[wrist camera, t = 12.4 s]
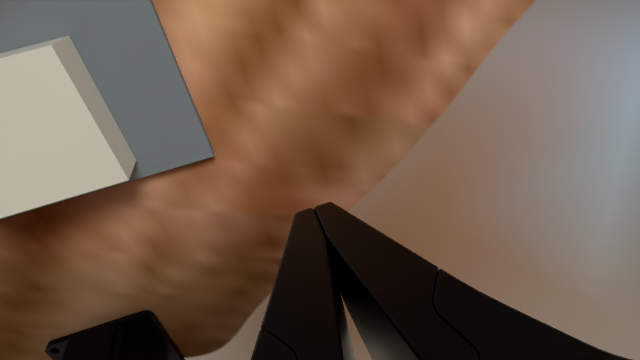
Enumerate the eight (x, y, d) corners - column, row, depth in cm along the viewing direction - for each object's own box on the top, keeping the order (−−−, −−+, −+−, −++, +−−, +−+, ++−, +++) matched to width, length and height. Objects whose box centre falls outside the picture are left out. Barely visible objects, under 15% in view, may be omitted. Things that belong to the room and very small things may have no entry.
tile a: (128, 180, 17) (-33, 227, 17) (136, 159, 19) (-10, 202, 18) (51, 45, 14) (-153, 98, 13) (69, 35, 16) (-111, 81, 15)
